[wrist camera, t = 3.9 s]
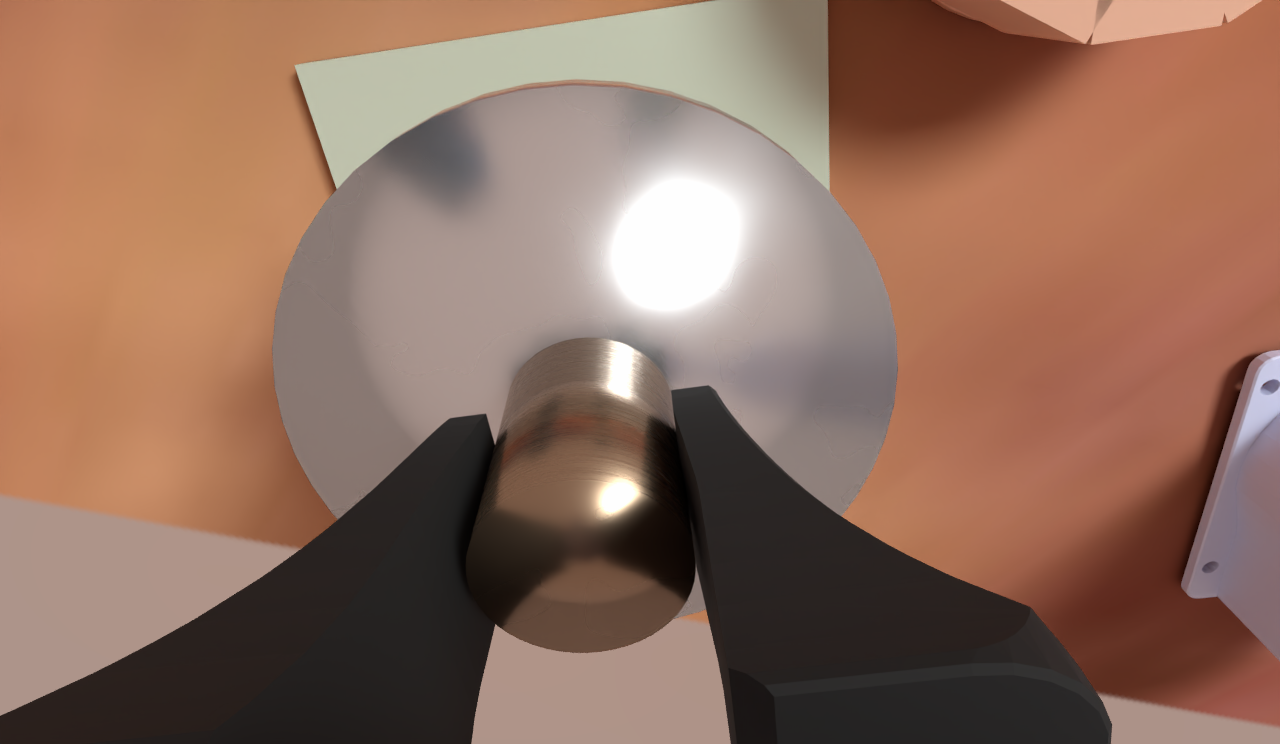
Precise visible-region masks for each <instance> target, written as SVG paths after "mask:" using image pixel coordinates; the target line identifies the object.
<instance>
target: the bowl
mask: <svg viewBox="0 0 1280 744" xmlns="http://www.w3.org/2000/svg"><path fill="white" fill-rule="evenodd" d="M931 1H932V2H934V3H936V4H937V5H939V6H940V7H942V8H944V9H946V10H948V11H950V12H953V13H955V14H958V15H960V16H963V17H965V18H968V19H972V20H977V21H981V22H983V23H985V24H987V25H989V26H991V27H993V28H995V29H997V30H999V31H1001V32H1003V33H1009V34H1016V35H1023V36H1031V37H1038V38H1045V39H1052V40H1060V41H1067V42H1074V43H1081V44H1089V45H1093V44H1100V43H1107V42H1114V41H1121V40H1127V39H1134V38H1141V37H1148V36H1155V35H1161V34H1168V33H1175V32H1182V31H1189V30H1195V29H1202V28H1209V27H1216V26H1222V23H1229V22H1230V21H1232V20H1233V19H1235V18H1236V17H1238V16H1239V15H1241V14H1242V13H1244V12H1245V11H1247V10H1248V9H1250V8H1251V7H1253V6H1254V5H1256V4H1257V3H1259V2H1260V1H1262V0H931Z"/></svg>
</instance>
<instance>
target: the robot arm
mask: <svg viewBox="0 0 1280 744" xmlns="http://www.w3.org/2000/svg"><path fill="white" fill-rule="evenodd" d="M1267 381H1268V382H1267ZM1266 382H1267V383H1266ZM1264 383H1266V384H1265V385H1264V386H1262V385H1263V384H1264ZM671 394H672V405H673V414H674V421H675V428H676V436H677V443H678V451H679V458H680V465H681V470H682V474H683V479H684V485H685V490H686V496H687V503H688V510H689V517H690V524H691V532H692V539H693V546H694V553H695V563H696V568H697V572H698V576H699V581H700V585H701V589H702V593H703V598H704V602H705V606H706V611H707V615H708V619H709V624H710V628H711V632H712V636H713V641H714V645H715V649H716V654H717V658H718V662H719V668H720V673H721V678H722V684H723V689H724V696H725V703H726V711H727V718H728V726H729V733H730V740H731V744H1111V732H1112V723H1111V721H1110V719H1109V716H1108V714H1107V711H1106V709H1105V707H1104V704H1103V702H1102V700H1101V699H1100V697H1099V696H1098V694H1097V693H1096V691H1095V690H1094V688H1093V687H1092V685H1091V684H1090V682H1089V681H1088V679H1087V678H1086V676H1085V675H1084V673H1083V672H1082V670H1081V669H1080V667H1079V666H1078V665H1077V663H1076V662H1075V661H1074V659H1073V658H1072V657H1071V656H1070V654H1069V653H1068V652H1067V650H1066V649H1065V648H1064V647H1063V645H1062V644H1061V643H1060V642H1059V640H1058V639H1057V638H1056V637H1055V636H1054V635H1053V634H1052V632H1051V631H1050V630H1049V629H1048V628H1047V627H1046V625H1045V624H1044V623H1043V622H1042V621H1041V619H1040V618H1039V617H1038V616H1037V615H1036V613H1035V612H1034V611H1033V609H1031V608H1030V607H1029V606H1026V605H1023V604H1021V603H1018V602H1016V601H1013V600H1011V599H1008V598H1006V597H1003V596H1000V595H998V594H995V593H993V592H990V591H988V590H985V589H983V588H980V587H977V586H975V585H972V584H970V583H967V582H965V581H962V580H960V579H957V578H955V577H952V576H950V575H948V574H946V573H943V572H941V571H939V570H937V569H935V568H933V567H931V566H929V565H927V564H925V563H923V562H921V561H918V560H916V559H914V558H912V557H910V556H908V555H906V554H904V553H902V552H901V551H899V550H897V549H895V548H893V547H891V546H889V545H887V544H886V543H884V542H882V541H881V540H879V539H877V538H876V537H874V536H872V535H871V534H869V533H867V532H865V531H864V530H862V529H860V528H859V527H857V526H855V525H854V524H852V523H850V522H849V521H847V520H846V519H844V518H843V517H841V516H840V515H838V514H837V513H835V512H834V511H833V510H831V509H830V508H829V507H827V506H826V505H825V504H823V503H822V502H821V501H819V500H818V499H817V498H815V497H814V496H813V495H812V494H810V493H809V492H808V491H807V490H805V489H804V488H803V487H802V486H801V485H800V484H798V483H797V482H796V481H795V480H794V479H793V478H792V477H790V476H789V475H788V474H787V473H786V472H785V471H784V470H783V469H782V468H781V467H780V466H778V465H777V464H776V463H775V462H774V461H773V460H772V459H771V458H770V457H769V456H768V455H767V454H766V453H765V452H764V451H763V450H762V448H761V447H760V446H759V445H758V444H757V443H756V442H755V441H754V440H753V439H752V438H751V437H750V436H749V434H748V433H747V432H746V431H745V430H744V429H743V428H742V426H741V425H740V424H739V423H738V422H737V420H736V419H735V418H734V416H733V415H732V414H731V413H730V411H729V410H728V409H727V407H726V406H725V404H724V403H723V402H722V400H721V398H720V397H719V395H718V393H717V391H716V390H714V389H713V388H712V387H711V386H709V385H707V386H699V387H691V388H683V389H675V390H671ZM494 447H495V443H494V440H493V436H492V433H491V429H490V425H489V422H488V418H487V415H486V414H478V415H470V416H462V417H454V418H449V419H448V420H447V421H446V422H444V423H443V424H442V425H441V426H440V427H439V428H437V429H436V430H435V431H434V432H433V433H432V434H431V435H430V436H429V437H428V438H427V439H426V440H425V441H424V442H422V443H421V444H420V445H419V446H418V447H417V448H416V449H415V450H414V451H413V452H412V453H411V454H410V455H409V456H408V457H407V458H406V459H405V460H404V461H403V462H402V463H401V464H399V465H398V466H397V467H396V468H395V469H394V470H393V471H392V472H391V473H390V474H389V475H388V476H387V477H386V478H385V479H384V480H383V481H381V482H380V483H379V484H378V485H377V486H376V487H375V488H374V489H373V490H372V491H371V492H369V493H368V494H367V495H366V496H365V497H364V498H362V499H361V500H360V501H359V502H358V503H357V504H355V505H354V506H353V507H352V508H351V509H350V510H348V511H347V512H346V513H345V514H344V515H343V516H342V517H340V518H339V519H338V520H337V521H336V522H335V523H333V524H332V525H331V526H330V527H329V528H328V529H326V530H325V531H324V532H323V533H321V534H320V535H319V536H318V537H316V538H315V539H314V540H312V541H311V542H310V543H308V544H307V545H306V546H305V547H303V548H302V549H301V550H299V551H298V552H296V553H295V554H294V555H292V556H291V557H289V558H288V559H287V560H285V561H284V562H283V563H281V564H280V565H278V566H277V567H276V568H274V569H273V570H271V571H270V572H268V573H267V574H266V575H264V576H263V577H261V578H260V579H258V580H257V581H255V582H253V583H252V584H250V585H249V586H247V587H246V588H244V589H242V590H241V591H239V592H237V593H236V594H234V595H233V596H231V597H229V598H228V599H226V600H225V601H223V602H222V603H220V604H218V605H217V606H215V607H214V608H212V609H210V610H209V611H207V612H206V613H204V614H202V615H201V616H199V617H198V618H196V619H194V620H192V621H191V622H189V623H187V624H185V625H184V626H182V627H180V628H178V629H176V630H175V631H173V632H171V633H169V634H167V635H166V636H164V637H162V638H160V639H158V640H157V641H155V642H153V643H151V644H149V645H147V646H145V647H143V648H142V649H140V650H138V651H136V652H134V653H132V654H130V655H128V656H127V657H124V658H122V659H121V660H119V661H117V662H115V663H113V664H111V665H109V666H107V667H105V668H103V669H101V670H99V671H97V672H95V673H93V674H91V675H88V676H86V677H84V678H82V679H80V680H78V681H75V682H73V683H71V684H69V685H67V686H65V687H62V688H60V689H58V690H56V691H54V692H52V693H50V694H47V695H45V696H43V697H41V698H39V699H36V700H34V701H32V702H30V703H28V704H26V705H23V706H21V707H19V708H17V709H15V710H13V711H10V712H8V713H6V714H3V715H1V716H0V744H471V741H472V734H473V725H474V718H475V712H476V707H477V702H478V696H479V691H480V686H481V682H482V677H483V673H484V669H485V665H486V661H487V657H488V652H489V648H490V644H491V640H492V636H493V631H494V627H495V623H494V622H493V621H492V620H491V619H489V618H488V617H487V615H486V614H485V613H484V612H483V611H482V610H481V608H480V607H479V605H478V604H477V602H476V601H475V599H474V597H473V595H472V593H471V591H470V588H469V585H468V581H467V577H466V556H467V551H468V547H469V544H470V540H471V536H472V532H473V528H474V524H475V521H476V517H477V513H478V509H479V505H480V501H481V497H482V494H483V490H484V486H485V482H486V478H487V474H488V470H489V467H490V463H491V459H492V455H493V451H494ZM1181 587H1182V589H1183V590H1184V591H1185V592H1186V594H1187V595H1188V596H1189V597H1192V598H1209V597H1218V598H1219V599H1220V600H1221V601H1222V602H1223V603H1224V604H1225V605H1226V606H1227V607H1228V608H1229V609H1230V610H1231V611H1232V612H1233V613H1234V614H1235V615H1236V616H1237V617H1238V618H1239V619H1240V621H1241V622H1242V623H1243V624H1244V625H1245V626H1246V627H1247V628H1248V629H1249V630H1250V631H1251V632H1252V633H1253V634H1254V635H1255V636H1256V637H1257V638H1258V639H1259V640H1260V641H1261V642H1262V643H1263V644H1264V645H1265V646H1266V647H1267V649H1268V650H1269V651H1270V652H1271V653H1272V654H1273V655H1274V656H1275V657H1276V658H1277V659H1278V660H1279V661H1280V350H1275V351H1269V352H1266V353H1262V354H1261V355H1259V356H1257V357H1256V358H1255V359H1254V360H1253V361H1252V362H1251V363H1250V365H1249V367H1248V369H1247V372H1246V375H1245V379H1244V382H1243V385H1242V388H1241V392H1240V395H1239V398H1238V401H1237V405H1236V408H1235V411H1234V414H1233V417H1232V421H1231V424H1230V427H1229V430H1228V434H1227V437H1226V440H1225V443H1224V447H1223V450H1222V453H1221V456H1220V459H1219V463H1218V466H1217V469H1216V472H1215V476H1214V479H1213V482H1212V485H1211V489H1210V492H1209V495H1208V498H1207V501H1206V505H1205V508H1204V511H1203V514H1202V518H1201V521H1200V524H1199V527H1198V531H1197V534H1196V537H1195V540H1194V544H1193V547H1192V550H1191V553H1190V556H1189V560H1188V563H1187V566H1186V569H1185V573H1184V576H1183V579H1182V582H1181Z"/></svg>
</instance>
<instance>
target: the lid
mask: <svg viewBox="0 0 1280 744" xmlns="http://www.w3.org/2000/svg"><path fill="white" fill-rule="evenodd" d="M272 354H273V370H274V386H275V390H276V395H277V399H278V404H279V409H280V413H281V418H282V422H283V424H284V427H285V430H286V432H287V435H288V438H289V440H290V443H291V446H292V448H293V451H294V454H295V456H296V457H297V459H298V461H299V463H300V465H301V467H302V468H303V470H304V472H305V474H306V476H307V478H308V479H309V481H310V483H311V485H312V486H313V488H314V489H315V490H316V492H317V493H318V495H319V496H320V497H321V499H322V500H323V501H324V503H325V504H326V506H327V507H328V508H329V510H330V511H331V513H332V514H333V515H334V516H335V517H336V518H337V519H339V518H340V517H342V516H343V515H344V514H345V513H346V512H347V511H348V510H350V509H351V508H352V507H353V506H354V505H355V504H357V503H358V502H359V501H360V500H361V499H362V498H364V497H365V496H366V495H367V494H368V493H369V492H371V491H372V490H373V489H374V488H375V487H376V486H377V485H378V484H379V483H380V482H381V481H383V480H384V479H385V478H386V477H387V476H388V475H389V474H390V473H391V472H392V471H393V470H394V469H395V468H396V467H397V466H398V465H399V464H401V463H402V462H403V461H404V460H405V459H406V458H407V457H408V456H409V455H410V454H411V453H412V452H413V451H414V450H415V449H416V448H417V447H418V446H419V445H420V444H421V443H422V442H424V441H425V440H426V439H427V438H428V437H429V436H430V435H431V434H432V433H433V432H434V431H435V430H436V429H437V428H439V427H440V426H441V425H442V424H443V423H444V422H446V421H447V420H448V419H449V418H454V417H462V416H470V415H478V414H486V415H487V418H488V422H489V425H490V429H491V433H492V436H493V440H494V443H495V447H494V451H493V455H492V459H491V463H490V467H489V470H488V474H487V478H486V482H485V486H484V490H483V494H482V497H481V501H480V505H479V509H478V513H477V517H476V521H475V524H474V528H473V532H472V536H471V540H470V544H469V547H468V551H467V556H466V577H467V581H468V585H469V588H470V591H471V593H472V595H473V597H474V599H475V601H476V602H477V604H478V605H479V607H480V608H481V610H482V611H483V612H484V613H485V614H486V615H487V617H488V618H489V619H491V620H492V621H493V622H494V623H495V624H496V625H497V626H499V627H500V628H502V629H503V630H504V631H506V632H507V633H509V634H511V635H513V636H515V637H516V638H519V639H520V640H523V641H525V642H528V643H530V644H532V645H536V646H539V647H543V648H546V649H551V650H556V651H563V652H573V653H574V652H575V653H589V652H602V651H607V650H613V649H617V648H621V647H625V646H628V645H631V644H633V643H636V642H638V641H641V640H643V639H645V638H647V637H649V636H651V635H653V634H654V633H655V632H657V631H659V630H660V629H662V628H663V627H664V626H665V625H667V624H668V623H669V622H670V621H671V620H672V619H675V618H678V617H682V616H686V615H689V614H693V613H697V612H700V611H703V610H705V609H706V606H705V602H704V598H703V593H702V589H701V585H700V581H699V576H698V572H697V568H696V563H695V553H694V546H693V539H692V532H691V524H690V517H689V510H688V503H687V496H686V490H685V485H684V479H683V474H682V470H681V465H680V458H679V451H678V443H677V436H676V428H675V421H674V414H673V405H672V394H671V390H675V389H683V388H691V387H699V386H707V385H709V386H711V387H712V388H713V389H714V390H716V391H717V393H718V395H719V397H720V398H721V400H722V402H723V403H724V404H725V406H726V407H727V409H728V410H729V411H730V413H731V414H732V415H733V416H734V418H735V419H736V420H737V422H738V423H739V424H740V425H741V426H742V428H743V429H744V430H745V431H746V432H747V433H748V434H749V436H750V437H751V438H752V439H753V440H754V441H755V442H756V443H757V444H758V445H759V446H760V447H761V448H762V450H763V451H764V452H765V453H766V454H767V455H768V456H769V457H770V458H771V459H772V460H773V461H774V462H775V463H776V464H777V465H778V466H780V467H781V468H782V469H783V470H784V471H785V472H786V473H787V474H788V475H789V476H790V477H792V478H793V479H794V480H795V481H796V482H797V483H798V484H800V485H801V486H802V487H803V488H804V489H805V490H807V491H808V492H809V493H810V494H812V495H813V496H814V497H815V498H817V499H818V500H819V501H821V502H822V503H823V504H825V505H826V506H827V507H829V508H830V509H831V510H833V511H834V512H835V513H837V514H838V515H840V516H842V515H843V513H844V512H845V511H846V510H847V508H848V507H849V506H850V504H851V503H852V502H853V500H854V499H855V498H856V496H857V495H858V493H859V491H860V489H861V488H862V486H863V484H864V483H865V481H866V479H867V477H868V476H869V474H870V472H871V471H872V469H873V466H874V464H875V462H876V459H877V457H878V454H879V452H880V450H881V447H882V445H883V442H884V440H885V438H886V434H887V430H888V426H889V422H890V418H891V414H892V410H893V407H894V400H895V391H896V382H897V372H898V364H897V341H896V330H895V325H894V320H893V315H892V310H891V305H890V300H889V296H888V293H887V291H886V288H885V285H884V283H883V280H882V277H881V274H880V272H879V269H878V266H877V264H876V261H875V259H874V257H873V255H872V254H871V252H870V250H869V248H868V246H867V245H866V243H865V241H864V239H863V237H862V236H861V234H860V232H859V230H858V228H857V227H856V225H855V224H854V222H853V221H852V220H851V219H850V217H849V216H848V215H847V213H846V212H845V211H844V210H843V208H842V207H841V206H840V204H839V203H838V202H837V200H836V199H835V198H834V197H833V195H832V194H831V193H830V192H829V191H828V190H827V189H826V188H825V187H824V186H823V185H822V184H821V183H820V182H819V181H818V180H817V179H816V178H815V177H814V176H813V175H812V174H811V173H810V172H809V171H808V170H807V169H806V168H805V167H803V166H802V165H801V164H800V163H799V162H798V161H797V160H796V159H795V158H794V157H793V156H792V155H791V154H790V153H789V152H788V151H787V150H785V149H784V148H782V147H781V146H779V145H778V144H777V143H775V142H774V141H772V140H771V139H770V138H768V137H767V136H765V135H764V134H763V133H761V132H760V131H758V130H757V129H756V128H754V127H753V126H751V125H749V124H747V123H745V122H743V121H741V120H739V119H737V118H735V117H733V116H732V115H730V114H728V113H726V112H724V111H722V110H720V109H718V108H716V107H714V106H712V105H709V104H706V103H703V102H700V101H698V100H695V99H692V98H689V97H686V96H683V95H680V94H677V93H674V92H671V91H668V90H663V89H658V88H653V87H648V86H643V85H638V84H632V83H627V82H620V81H601V80H582V79H572V80H561V81H549V82H538V83H528V84H524V85H520V86H515V87H511V88H507V89H503V90H498V91H494V92H490V93H485V94H482V95H480V96H477V97H475V98H472V99H470V100H467V101H465V102H462V103H459V104H457V105H454V106H452V107H449V108H447V109H444V110H442V111H440V112H438V113H436V114H435V115H433V116H431V117H429V118H428V119H426V120H424V121H423V122H421V123H419V124H417V125H416V126H414V127H412V128H410V129H409V130H407V131H405V132H403V133H402V134H401V135H399V136H398V137H396V138H395V139H394V140H392V141H391V142H389V143H388V144H387V145H386V146H384V147H383V148H382V149H381V150H379V151H378V152H377V153H376V154H374V155H373V156H372V157H371V158H369V159H368V160H367V161H366V162H364V163H363V164H362V165H361V166H359V167H358V168H357V169H356V170H354V171H353V172H352V173H351V175H350V176H349V177H348V178H347V179H346V180H345V181H344V182H343V183H342V184H341V185H340V187H339V188H338V189H337V190H336V191H335V192H334V193H333V194H332V195H331V196H330V198H329V199H328V200H327V201H326V202H325V203H324V205H323V206H322V208H321V209H320V211H319V212H318V214H317V215H316V217H315V218H314V220H313V221H312V223H311V224H310V226H309V227H308V229H307V231H306V232H305V234H304V235H303V237H302V238H301V241H300V243H299V245H298V247H297V250H296V252H295V254H294V256H293V259H292V261H291V263H290V265H289V268H288V270H287V272H286V274H285V278H284V282H283V286H282V290H281V294H280V297H279V301H278V305H277V309H276V314H275V325H274V335H273V346H272Z"/></svg>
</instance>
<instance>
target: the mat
mask: <svg viewBox="0 0 1280 744" xmlns="http://www.w3.org/2000/svg"><path fill="white" fill-rule="evenodd" d="M294 66H295V69H296V71H297V74H298V77H299V80H300V83H301V86H302V89H303V92H304V95H305V98H306V101H307V104H308V107H309V110H310V113H311V115H312V118H313V121H314V124H315V127H316V130H317V133H318V136H319V139H320V142H321V145H322V148H323V151H324V154H325V157H326V160H327V162H328V165H329V168H330V171H331V174H332V177H333V180H334V183H335V186H336V189H338V188H339V187H340V185H341V184H342V183H343V182H344V181H345V180H346V179H347V178H348V177H349V176H350V175H351V173H352V172H353V171H354V170H356V169H357V168H358V167H359V166H361V165H362V164H363V163H364V162H366V161H367V160H368V159H369V158H371V157H372V156H373V155H374V154H376V153H377V152H378V151H379V150H381V149H382V148H383V147H384V146H386V145H387V144H388V143H389V142H391V141H392V140H394V139H395V138H396V137H398V136H399V135H401V134H402V133H403V132H405V131H407V130H409V129H410V128H412V127H414V126H416V125H417V124H419V123H421V122H423V121H424V120H426V119H428V118H429V117H431V116H433V115H435V114H436V113H438V112H440V111H442V110H444V109H447V108H449V107H452V106H454V105H457V104H459V103H462V102H465V101H467V100H470V99H472V98H475V97H477V96H480V95H482V94H485V93H490V92H494V91H498V90H503V89H507V88H511V87H515V86H520V85H524V84H528V83H538V82H549V81H561V80H572V79H582V80H601V81H620V82H627V83H632V84H638V85H643V86H648V87H653V88H658V89H663V90H668V91H671V92H674V93H677V94H680V95H683V96H686V97H689V98H692V99H695V100H698V101H700V102H703V103H706V104H709V105H712V106H714V107H716V108H718V109H720V110H722V111H724V112H726V113H728V114H730V115H732V116H733V117H735V118H737V119H739V120H741V121H743V122H745V123H747V124H749V125H751V126H753V127H754V128H756V129H757V130H758V131H760V132H761V133H763V134H764V135H765V136H767V137H768V138H770V139H771V140H772V141H774V142H775V143H777V144H778V145H779V146H781V147H782V148H784V149H785V150H787V151H788V152H789V153H790V154H791V155H792V156H793V157H794V158H795V159H796V160H797V161H798V162H799V163H800V164H801V165H802V166H803V167H805V168H806V169H807V170H808V171H809V172H810V173H811V174H812V175H813V176H814V177H815V178H816V179H817V180H818V181H819V182H820V183H821V184H822V185H823V186H824V187H825V188H826V189H827V190H828V191H829V82H828V0H712V1H705V2H699V3H692V4H686V5H679V6H673V7H666V8H660V9H653V10H647V11H640V12H634V13H627V14H621V15H614V16H608V17H601V18H595V19H588V20H582V21H575V22H569V23H562V24H556V25H549V26H543V27H536V28H530V29H523V30H517V31H510V32H504V33H497V34H490V35H484V36H477V37H471V38H464V39H458V40H451V41H445V42H438V43H432V44H425V45H419V46H412V47H406V48H399V49H393V50H386V51H380V52H373V53H367V54H360V55H354V56H347V57H341V58H334V59H328V60H321V61H315V62H308V63H302V64H298V65H294ZM829 192H830V191H829Z"/></svg>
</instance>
